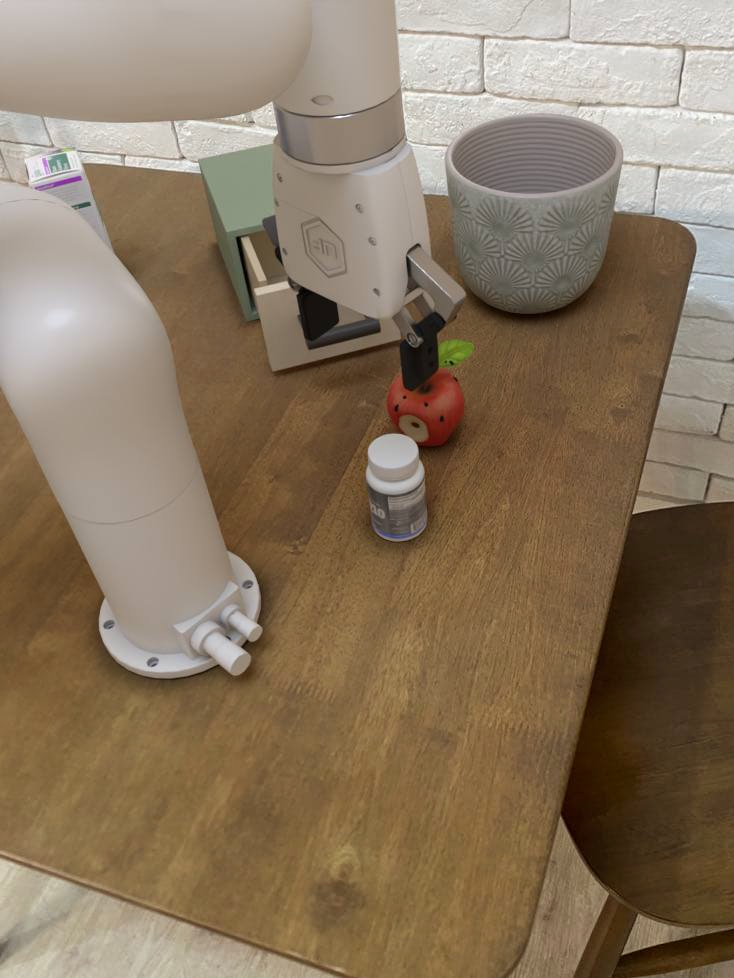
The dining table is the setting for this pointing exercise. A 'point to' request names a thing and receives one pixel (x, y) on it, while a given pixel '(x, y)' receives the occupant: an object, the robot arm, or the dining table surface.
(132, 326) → the robot arm
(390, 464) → the pill bottle
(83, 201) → the syrup box
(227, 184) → the cabinet
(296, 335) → the drawer
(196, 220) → the dining table surface
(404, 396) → the apple
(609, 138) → the planter
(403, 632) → the dining table surface
